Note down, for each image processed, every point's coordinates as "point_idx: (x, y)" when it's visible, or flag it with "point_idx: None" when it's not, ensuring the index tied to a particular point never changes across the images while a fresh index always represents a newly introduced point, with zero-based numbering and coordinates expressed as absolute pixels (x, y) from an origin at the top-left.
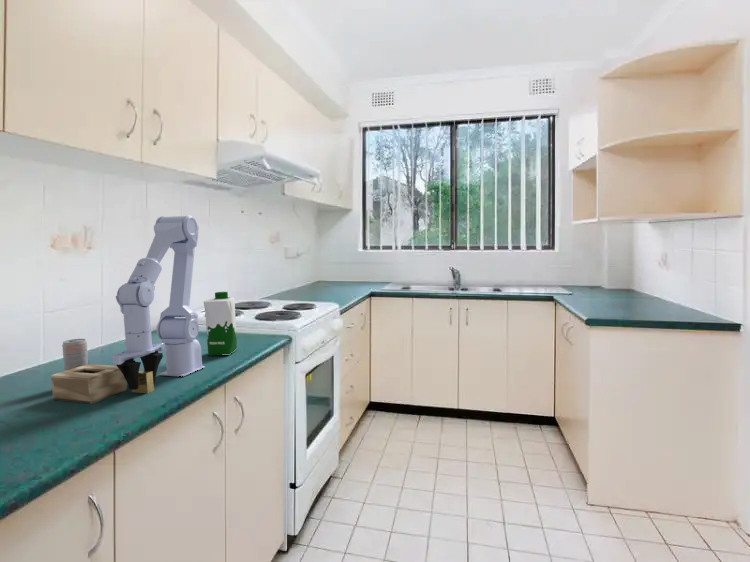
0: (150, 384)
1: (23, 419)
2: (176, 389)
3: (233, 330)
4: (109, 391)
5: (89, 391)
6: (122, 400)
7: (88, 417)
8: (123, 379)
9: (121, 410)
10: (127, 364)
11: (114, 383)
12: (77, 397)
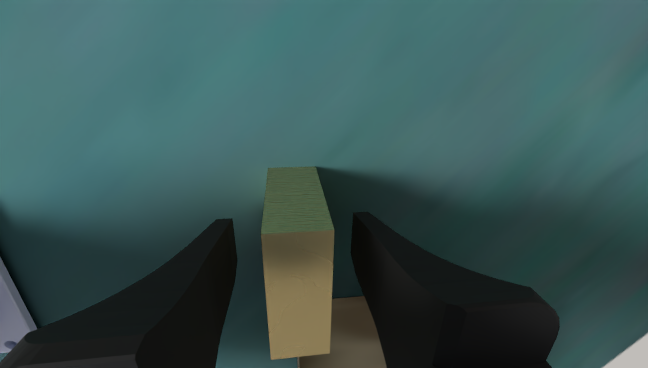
0: (292, 185)
1: (600, 342)
2: (198, 32)
3: None
4: None
5: None
6: (431, 203)
7: (631, 166)
8: None
9: (569, 89)
10: (546, 354)
11: (374, 340)
12: None
